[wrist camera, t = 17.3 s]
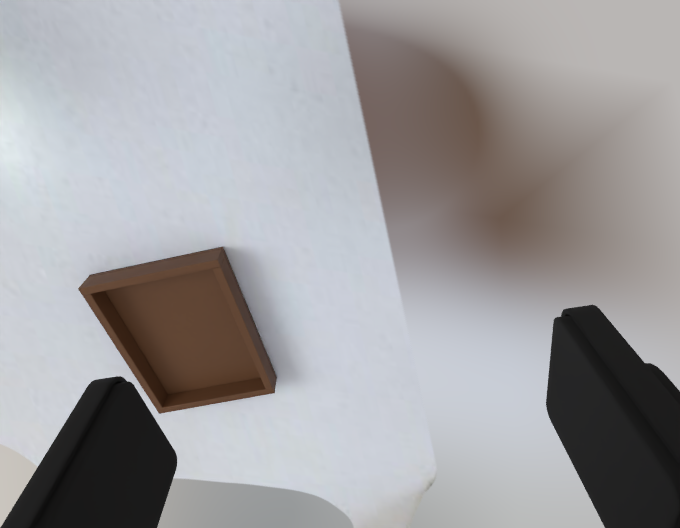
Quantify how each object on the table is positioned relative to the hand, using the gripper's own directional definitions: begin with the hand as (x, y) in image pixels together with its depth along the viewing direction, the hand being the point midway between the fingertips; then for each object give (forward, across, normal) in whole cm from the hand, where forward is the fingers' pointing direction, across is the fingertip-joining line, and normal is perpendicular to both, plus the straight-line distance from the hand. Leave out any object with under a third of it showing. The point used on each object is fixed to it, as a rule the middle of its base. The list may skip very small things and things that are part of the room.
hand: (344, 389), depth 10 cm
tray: (+29, +19, +20) cm, 40 cm away
